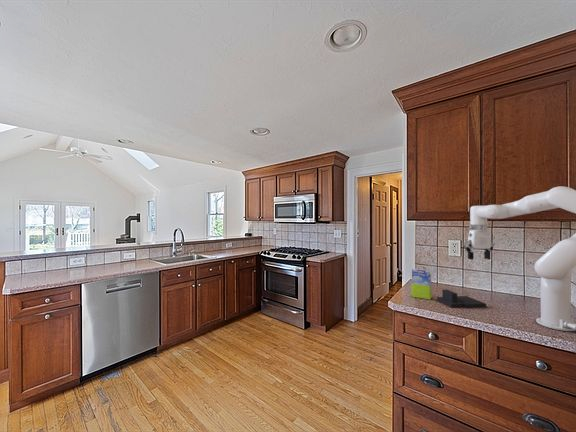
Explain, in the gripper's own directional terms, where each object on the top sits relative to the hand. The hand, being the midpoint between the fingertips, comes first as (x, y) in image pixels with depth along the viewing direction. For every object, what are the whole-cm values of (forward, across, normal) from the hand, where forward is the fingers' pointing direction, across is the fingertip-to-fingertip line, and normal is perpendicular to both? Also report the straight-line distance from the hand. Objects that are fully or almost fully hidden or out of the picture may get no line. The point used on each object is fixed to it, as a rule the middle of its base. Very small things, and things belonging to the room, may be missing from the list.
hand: (479, 259), depth 141 cm
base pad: (+26, -3, +6) cm, 27 cm away
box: (+26, -22, +18) cm, 39 cm away
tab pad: (+26, -11, +6) cm, 29 cm away
